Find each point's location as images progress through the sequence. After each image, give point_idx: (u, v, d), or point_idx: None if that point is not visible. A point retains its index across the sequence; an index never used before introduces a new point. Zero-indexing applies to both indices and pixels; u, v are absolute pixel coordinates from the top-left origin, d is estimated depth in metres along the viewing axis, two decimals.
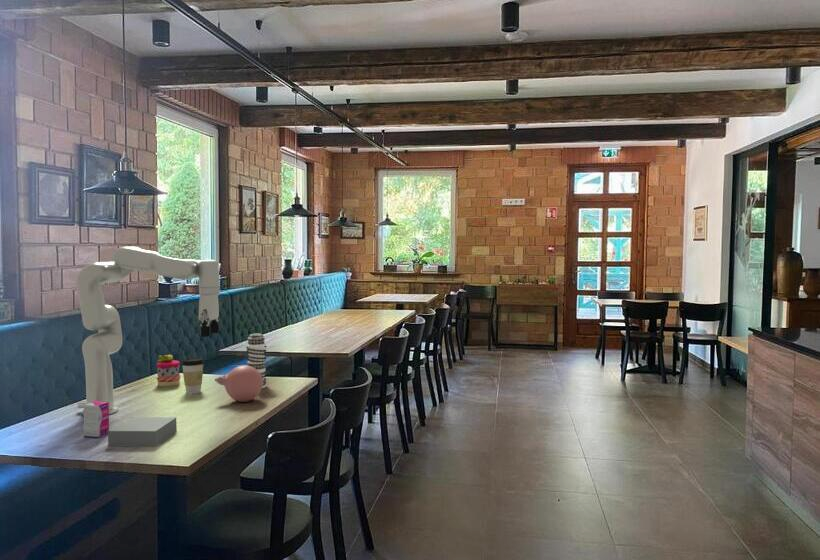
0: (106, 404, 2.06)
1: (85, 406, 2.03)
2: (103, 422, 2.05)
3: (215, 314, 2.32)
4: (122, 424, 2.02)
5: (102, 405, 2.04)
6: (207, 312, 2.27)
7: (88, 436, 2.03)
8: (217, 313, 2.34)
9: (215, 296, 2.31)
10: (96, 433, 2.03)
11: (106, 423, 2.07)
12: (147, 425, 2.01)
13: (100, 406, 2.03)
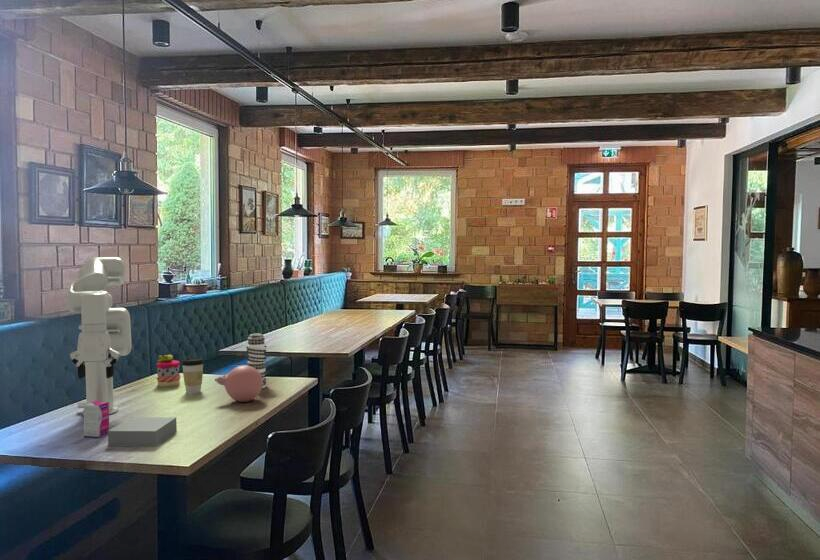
0: (106, 404, 2.06)
1: (85, 406, 2.03)
2: (103, 422, 2.05)
3: None
4: (122, 424, 2.02)
5: (102, 405, 2.04)
6: None
7: (88, 436, 2.03)
8: None
9: None
10: (96, 433, 2.03)
11: (106, 423, 2.07)
12: (147, 425, 2.01)
13: (100, 406, 2.03)
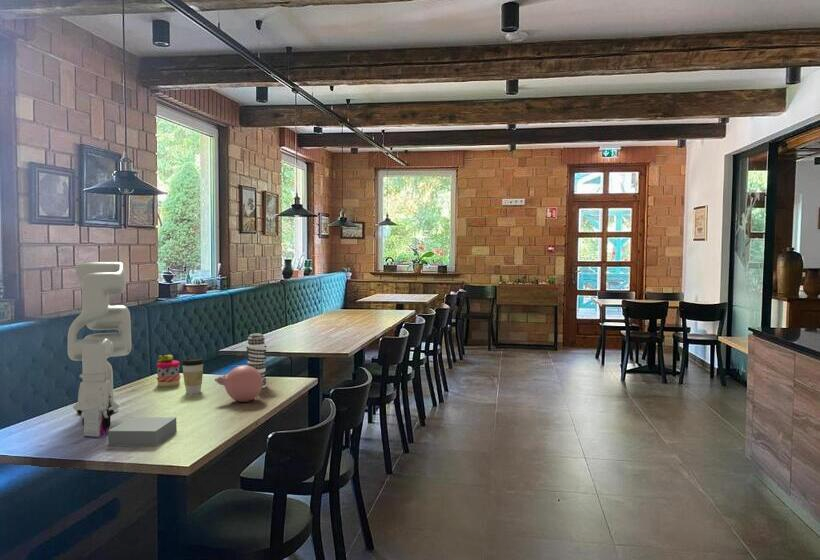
0: None
1: None
2: None
3: None
4: (122, 424, 2.02)
5: None
6: (111, 398, 2.06)
7: (88, 436, 2.03)
8: None
9: None
10: (96, 433, 2.03)
11: None
12: (147, 425, 2.01)
13: None
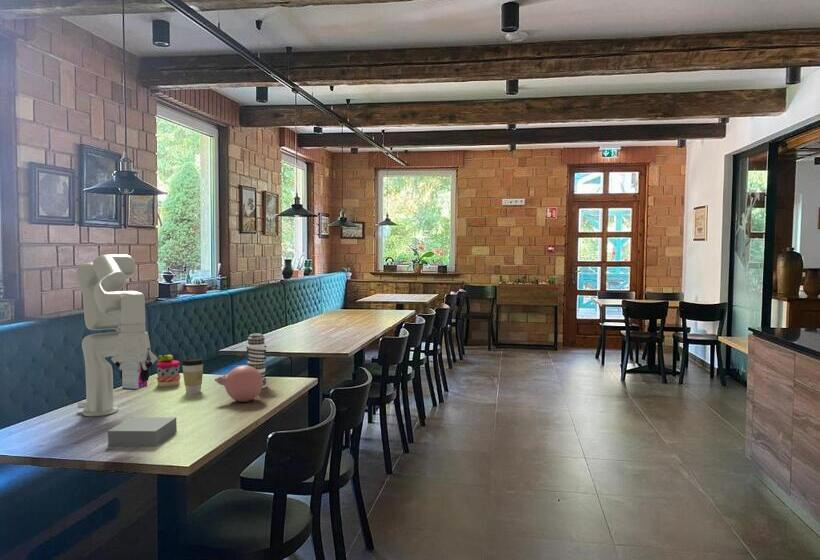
0: None
1: None
2: None
3: None
4: (122, 424, 2.02)
5: None
6: (149, 350, 2.02)
7: (126, 388, 1.99)
8: None
9: None
10: (135, 385, 1.99)
11: None
12: (147, 425, 2.01)
13: None
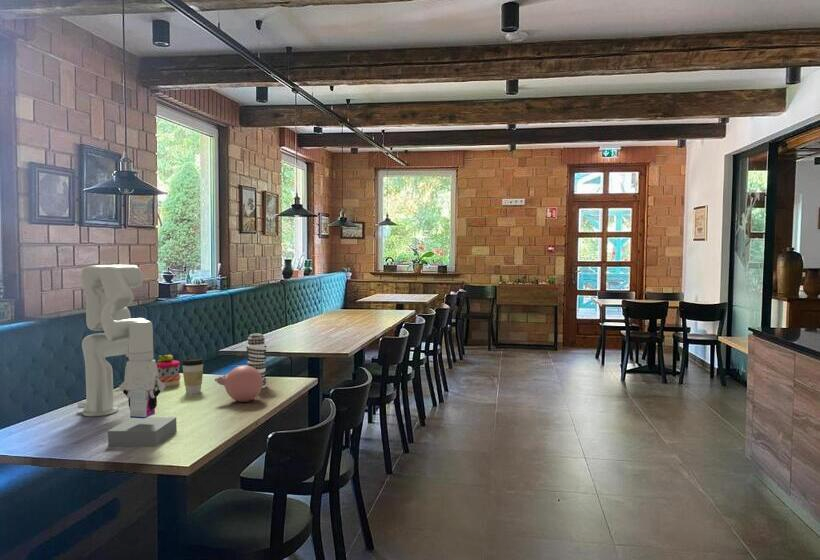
0: None
1: None
2: (149, 402, 2.01)
3: None
4: (122, 424, 2.02)
5: None
6: (157, 378, 2.02)
7: (134, 416, 1.99)
8: None
9: None
10: (143, 414, 1.99)
11: None
12: (147, 425, 2.01)
13: None
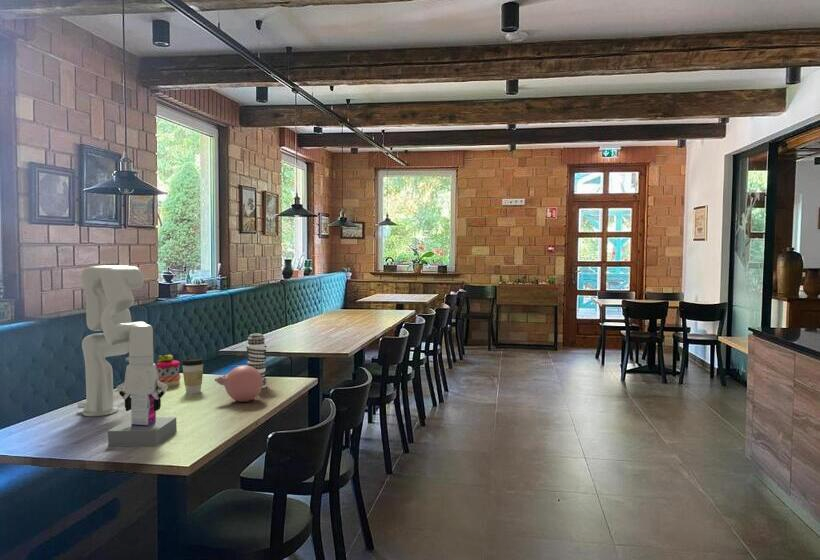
0: None
1: None
2: (151, 410, 2.02)
3: None
4: (122, 424, 2.02)
5: None
6: None
7: (136, 424, 2.00)
8: None
9: None
10: (145, 421, 1.99)
11: (153, 411, 2.03)
12: None
13: None
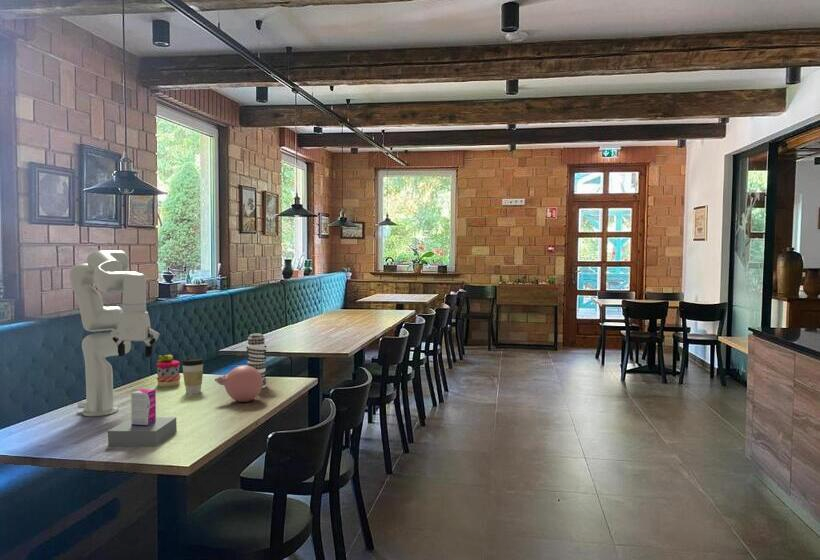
0: (153, 392, 2.03)
1: (133, 394, 1.99)
2: (151, 410, 2.02)
3: None
4: (122, 424, 2.02)
5: (150, 393, 2.01)
6: None
7: (136, 424, 2.00)
8: None
9: None
10: (145, 421, 1.99)
11: (153, 411, 2.03)
12: None
13: (148, 394, 2.00)
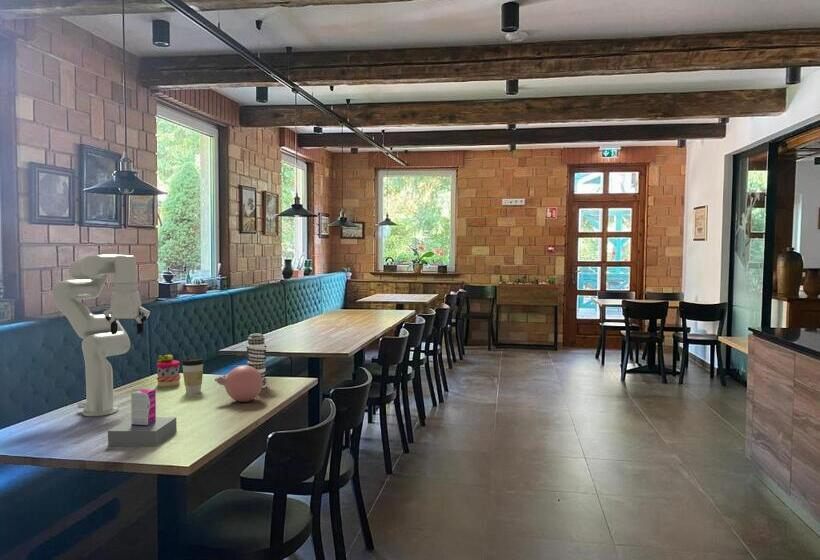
0: (153, 392, 2.03)
1: (133, 394, 1.99)
2: (151, 410, 2.02)
3: None
4: (122, 424, 2.02)
5: (150, 393, 2.01)
6: None
7: (136, 424, 2.00)
8: None
9: None
10: (145, 421, 1.99)
11: (153, 411, 2.03)
12: None
13: (148, 394, 2.00)
